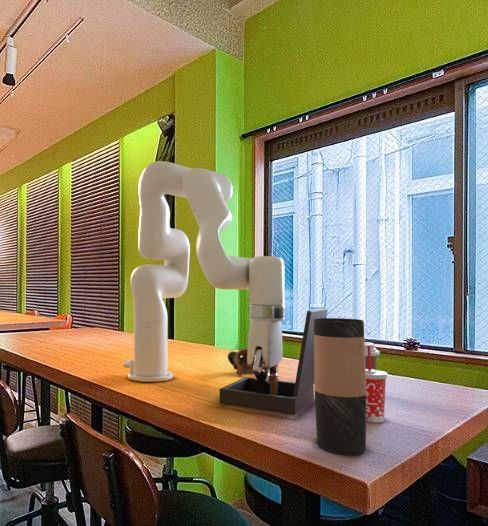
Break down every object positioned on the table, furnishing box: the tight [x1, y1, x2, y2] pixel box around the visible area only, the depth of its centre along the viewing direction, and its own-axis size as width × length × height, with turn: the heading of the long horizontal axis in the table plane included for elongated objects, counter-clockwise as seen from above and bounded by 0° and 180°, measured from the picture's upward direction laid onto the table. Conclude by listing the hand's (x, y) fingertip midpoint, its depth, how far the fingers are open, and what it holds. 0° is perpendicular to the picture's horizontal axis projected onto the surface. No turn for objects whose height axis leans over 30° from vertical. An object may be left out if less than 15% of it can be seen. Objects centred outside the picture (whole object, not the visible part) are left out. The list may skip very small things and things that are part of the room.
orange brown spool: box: [264, 372, 279, 395], centre depth 94 cm, size 5×5×6 cm
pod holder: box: [219, 376, 315, 416], centre depth 94 cm, size 16×15×4 cm
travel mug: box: [314, 317, 367, 456], centre depth 70 cm, size 8×8×20 cm
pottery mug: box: [227, 348, 264, 378], centre depth 128 cm, size 12×10×8 cm
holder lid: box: [293, 307, 329, 397], centre depth 90 cm, size 17×15×1 cm
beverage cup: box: [366, 345, 388, 424], centre depth 85 cm, size 6×6×14 cm
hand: (266, 397), depth 94 cm, fingers closed on orange brown spool, 4 cm apart
